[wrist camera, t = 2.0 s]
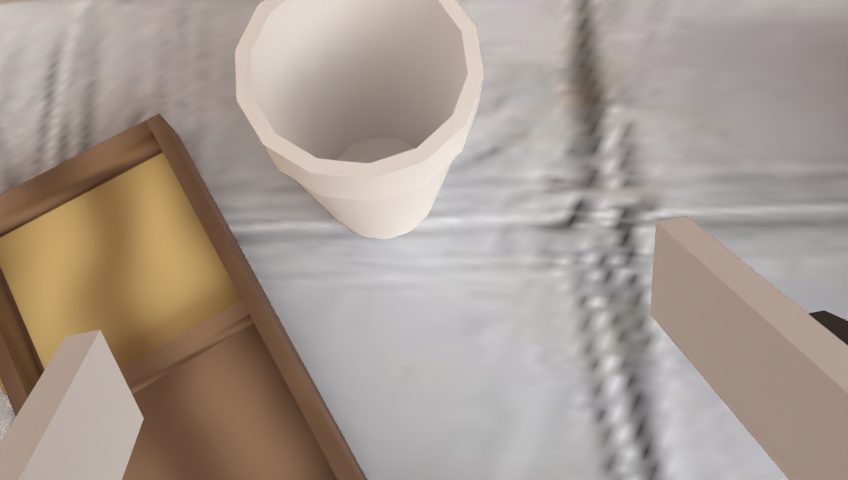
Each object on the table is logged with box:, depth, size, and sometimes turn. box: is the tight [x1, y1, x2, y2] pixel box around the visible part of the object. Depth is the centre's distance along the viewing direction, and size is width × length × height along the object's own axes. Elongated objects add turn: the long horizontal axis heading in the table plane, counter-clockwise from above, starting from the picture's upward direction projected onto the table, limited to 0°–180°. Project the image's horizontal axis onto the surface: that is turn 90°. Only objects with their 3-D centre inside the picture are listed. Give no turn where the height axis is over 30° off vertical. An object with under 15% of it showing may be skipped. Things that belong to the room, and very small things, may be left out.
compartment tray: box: [0, 114, 367, 480], centre depth 31 cm, size 13×24×3 cm, turn 31°
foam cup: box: [235, 0, 484, 240], centre depth 29 cm, size 10×9×13 cm
